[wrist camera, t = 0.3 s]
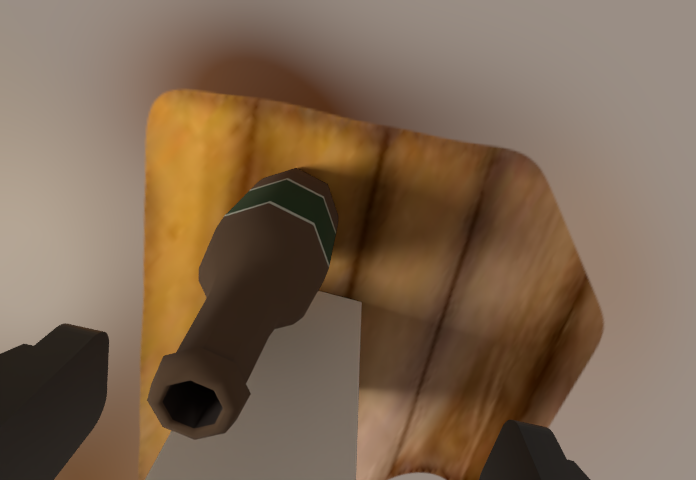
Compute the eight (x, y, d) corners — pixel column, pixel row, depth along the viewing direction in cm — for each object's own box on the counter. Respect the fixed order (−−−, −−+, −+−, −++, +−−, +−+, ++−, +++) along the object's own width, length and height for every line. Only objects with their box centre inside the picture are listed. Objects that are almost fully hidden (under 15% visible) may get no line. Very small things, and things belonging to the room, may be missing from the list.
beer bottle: (250, 161, 37) (68, 303, 15) (343, 170, 37) (303, 326, 14) (250, 247, 40) (97, 476, 17) (336, 255, 40) (294, 496, 17)
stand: (349, 401, 45) (312, 1035, 16) (216, 368, 45) (-91, 967, 15) (387, 293, 41) (435, 905, 11) (238, 254, 40) (-143, 795, 10)
